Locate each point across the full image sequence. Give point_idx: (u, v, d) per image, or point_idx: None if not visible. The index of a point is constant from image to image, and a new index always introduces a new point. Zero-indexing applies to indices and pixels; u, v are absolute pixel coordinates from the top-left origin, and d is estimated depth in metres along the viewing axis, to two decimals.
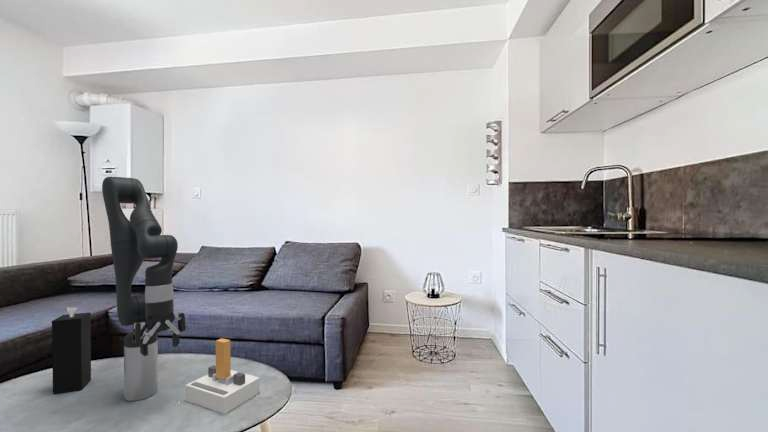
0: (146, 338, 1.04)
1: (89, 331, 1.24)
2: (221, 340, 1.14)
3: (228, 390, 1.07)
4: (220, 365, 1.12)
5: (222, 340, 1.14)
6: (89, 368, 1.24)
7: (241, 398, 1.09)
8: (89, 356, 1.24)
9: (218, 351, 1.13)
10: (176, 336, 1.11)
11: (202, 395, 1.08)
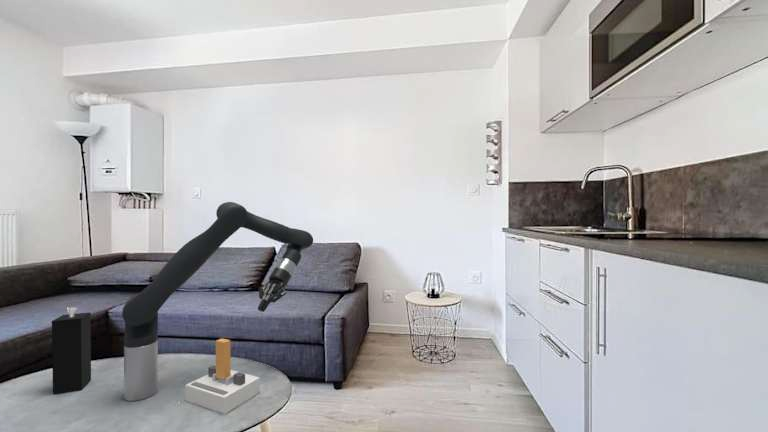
0: None
1: (89, 331, 1.24)
2: (221, 340, 1.14)
3: (228, 390, 1.07)
4: (220, 365, 1.12)
5: (222, 340, 1.14)
6: (89, 368, 1.24)
7: (241, 398, 1.09)
8: (89, 356, 1.24)
9: (218, 351, 1.13)
10: None
11: (202, 395, 1.08)
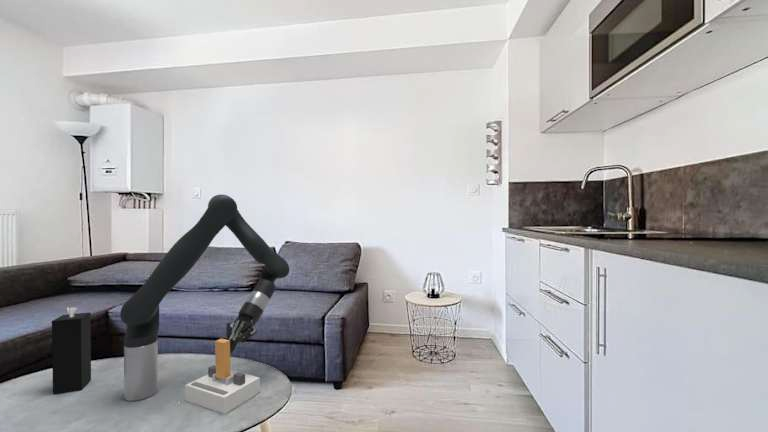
0: None
1: (89, 331, 1.24)
2: (220, 340, 1.13)
3: (228, 390, 1.07)
4: (220, 365, 1.12)
5: (221, 340, 1.13)
6: (89, 368, 1.24)
7: (241, 398, 1.09)
8: (89, 356, 1.24)
9: (218, 351, 1.13)
10: None
11: (202, 395, 1.08)
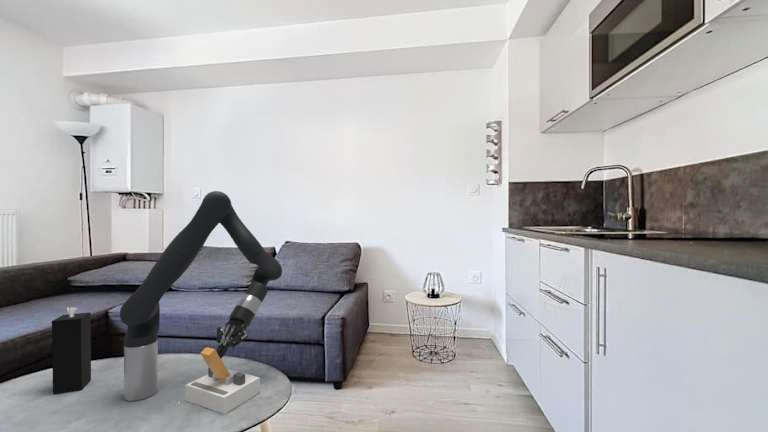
0: None
1: (89, 331, 1.24)
2: (206, 351, 1.08)
3: (228, 390, 1.07)
4: (215, 371, 1.11)
5: (207, 351, 1.08)
6: (89, 368, 1.24)
7: (241, 398, 1.09)
8: (89, 356, 1.24)
9: (208, 361, 1.09)
10: None
11: (202, 395, 1.08)
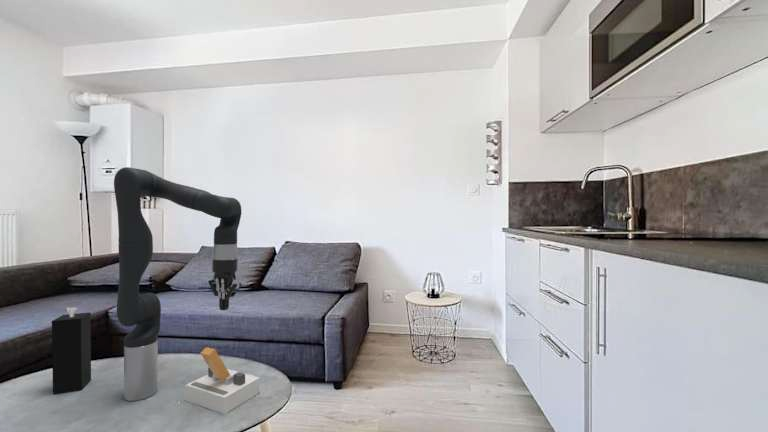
0: None
1: (89, 331, 1.24)
2: (206, 351, 1.08)
3: (228, 390, 1.07)
4: (215, 371, 1.11)
5: (207, 351, 1.08)
6: (89, 368, 1.24)
7: (241, 398, 1.09)
8: (89, 356, 1.24)
9: (208, 361, 1.09)
10: None
11: (202, 395, 1.08)
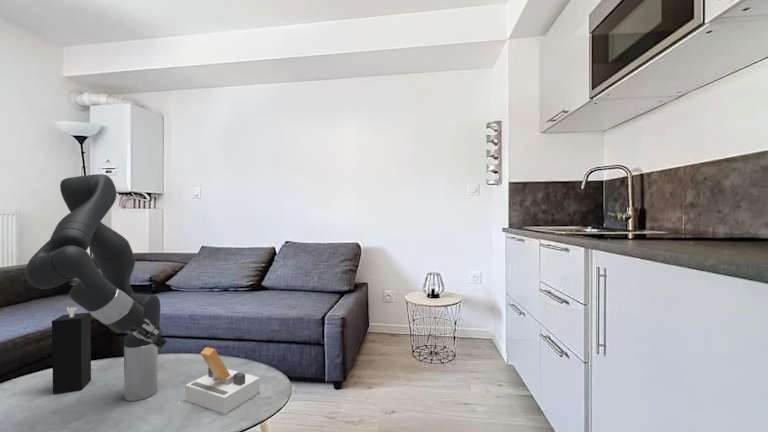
0: None
1: (89, 331, 1.24)
2: (206, 351, 1.08)
3: (228, 390, 1.07)
4: (215, 371, 1.11)
5: (207, 351, 1.08)
6: (89, 368, 1.24)
7: (241, 398, 1.09)
8: (89, 356, 1.24)
9: (208, 361, 1.09)
10: None
11: (202, 395, 1.08)
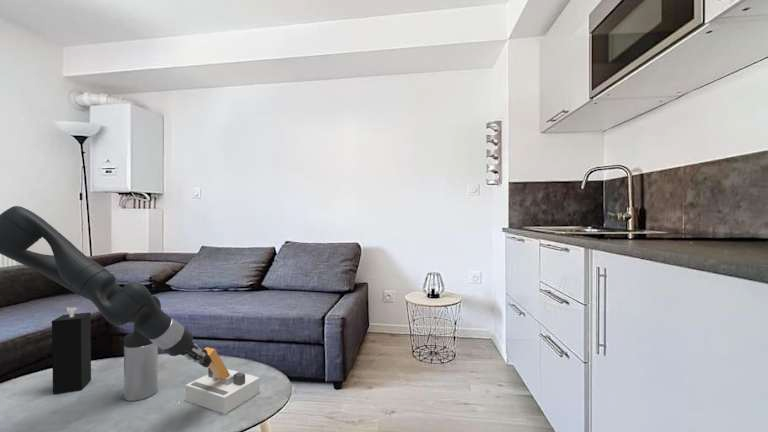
0: None
1: (89, 331, 1.24)
2: None
3: (228, 390, 1.07)
4: (215, 371, 1.11)
5: (207, 351, 1.08)
6: (89, 368, 1.24)
7: (241, 398, 1.09)
8: (89, 356, 1.24)
9: None
10: None
11: (202, 395, 1.08)
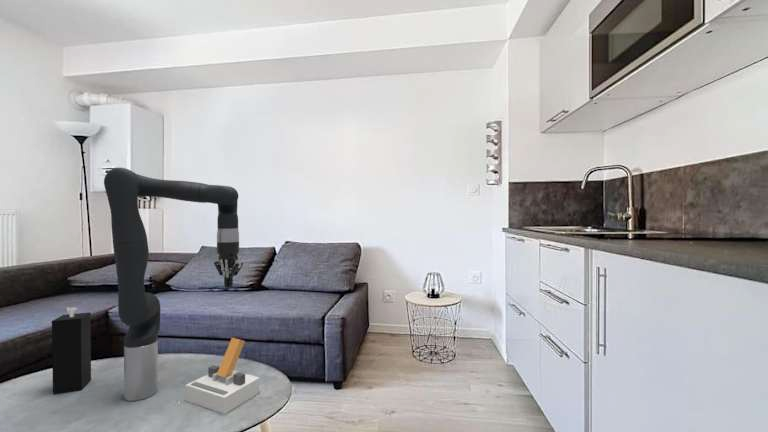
0: (223, 273, 1.27)
1: (89, 331, 1.24)
2: (237, 339, 1.19)
3: (228, 390, 1.07)
4: (226, 362, 1.15)
5: (237, 339, 1.19)
6: (89, 368, 1.24)
7: (241, 398, 1.09)
8: (89, 356, 1.24)
9: (230, 348, 1.17)
10: (226, 279, 1.27)
11: (202, 395, 1.08)
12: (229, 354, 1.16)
